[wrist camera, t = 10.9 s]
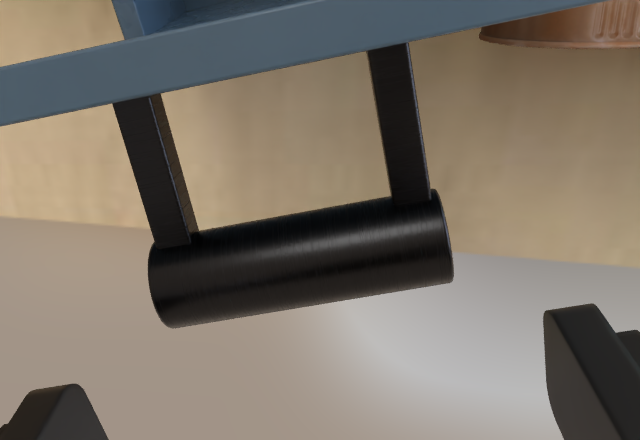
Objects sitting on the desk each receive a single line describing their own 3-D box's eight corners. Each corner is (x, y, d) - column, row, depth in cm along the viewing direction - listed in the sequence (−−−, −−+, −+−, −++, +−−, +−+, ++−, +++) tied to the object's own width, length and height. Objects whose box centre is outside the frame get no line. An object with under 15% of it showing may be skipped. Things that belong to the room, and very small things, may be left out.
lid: (-261, 123, 9) (-109, 426, 11) (799, -107, 7) (784, 287, 9) (126, 55, 25) (162, 180, 26) (491, -23, 23) (505, 115, 25)
